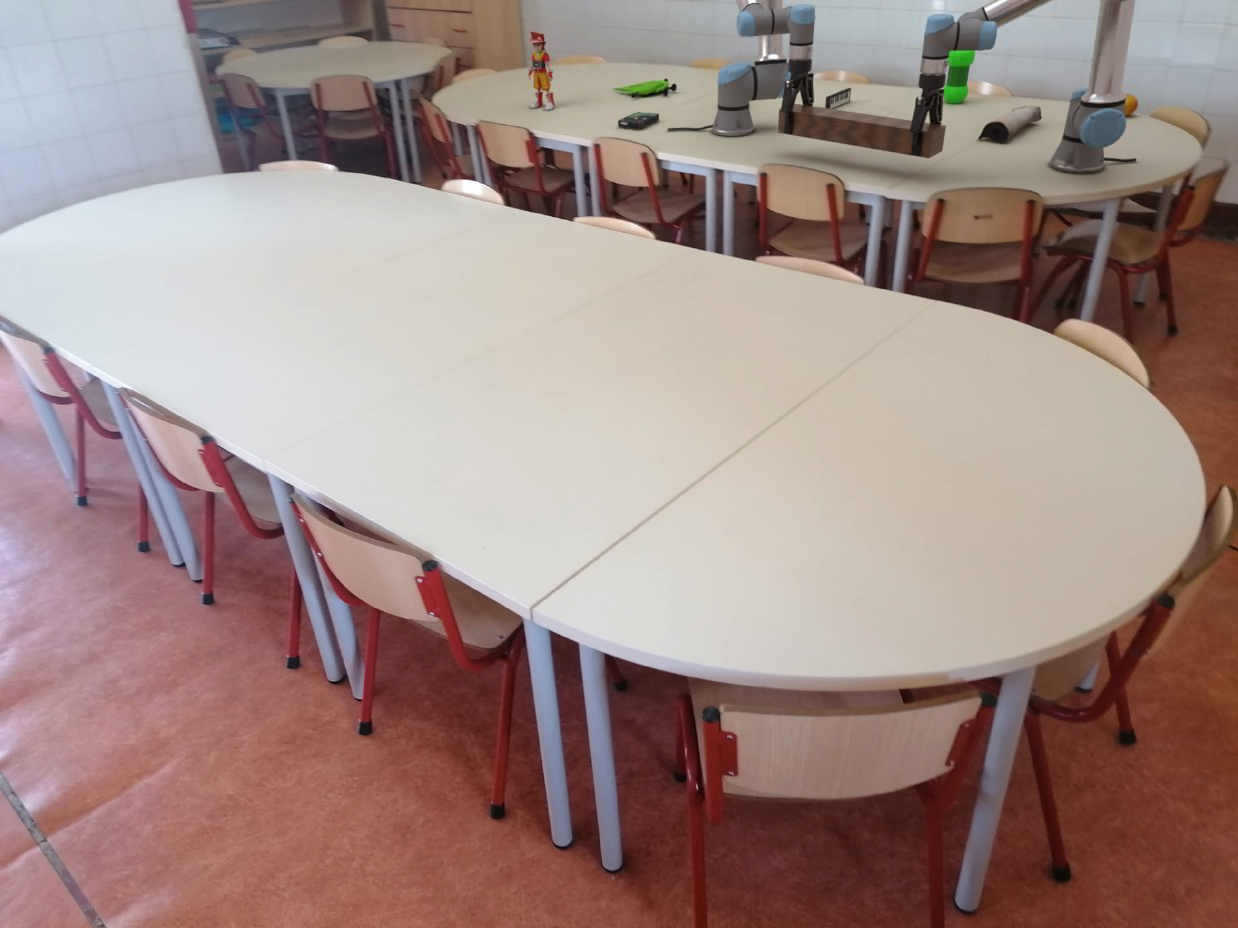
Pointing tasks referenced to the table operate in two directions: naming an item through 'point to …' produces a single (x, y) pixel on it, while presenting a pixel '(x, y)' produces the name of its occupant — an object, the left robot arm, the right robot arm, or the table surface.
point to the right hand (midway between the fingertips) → (922, 151)
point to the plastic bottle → (958, 75)
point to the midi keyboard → (838, 98)
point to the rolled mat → (1010, 123)
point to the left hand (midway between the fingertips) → (796, 130)
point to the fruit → (1130, 104)
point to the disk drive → (638, 120)
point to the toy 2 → (648, 88)
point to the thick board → (862, 130)
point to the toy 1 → (541, 71)
